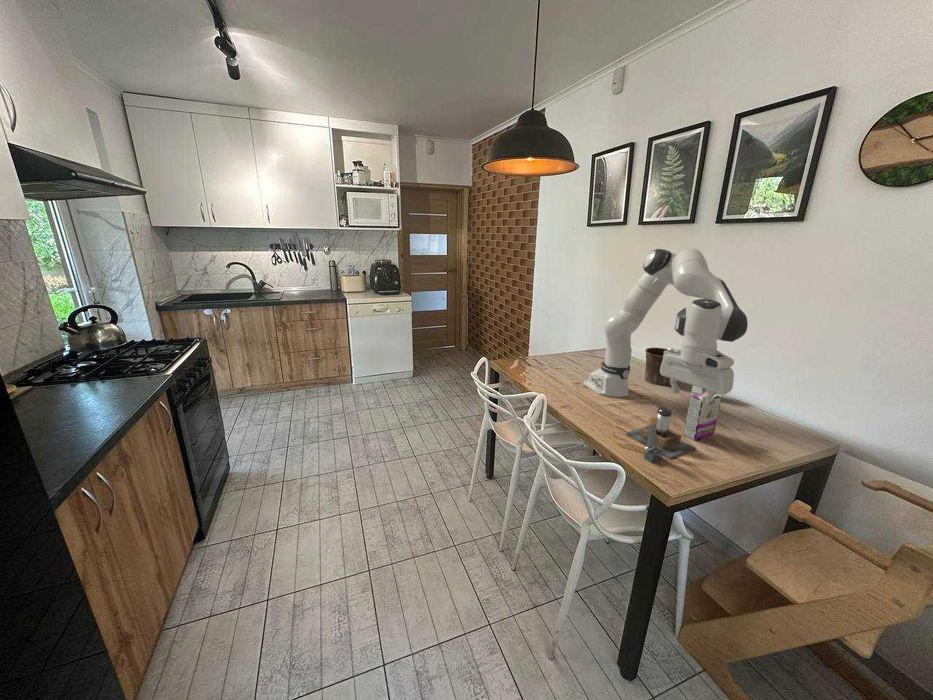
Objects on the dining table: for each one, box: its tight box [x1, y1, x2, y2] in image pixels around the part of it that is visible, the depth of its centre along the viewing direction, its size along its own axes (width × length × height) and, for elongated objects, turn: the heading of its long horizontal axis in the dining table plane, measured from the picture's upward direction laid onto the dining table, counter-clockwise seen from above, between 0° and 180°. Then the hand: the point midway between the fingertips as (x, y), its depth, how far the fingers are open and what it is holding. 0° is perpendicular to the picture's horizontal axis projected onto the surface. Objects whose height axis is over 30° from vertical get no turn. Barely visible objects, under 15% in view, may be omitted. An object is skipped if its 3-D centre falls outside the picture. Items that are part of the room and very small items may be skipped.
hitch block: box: [625, 425, 697, 460], centre depth 133 cm, size 18×14×4 cm
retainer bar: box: [646, 416, 658, 447], centre depth 122 cm, size 1×3×10 cm, turn 116°
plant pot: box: [644, 347, 671, 386], centre depth 190 cm, size 16×16×16 cm
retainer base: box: [642, 445, 663, 464], centre depth 123 cm, size 4×5×4 cm
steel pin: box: [656, 406, 673, 438], centre depth 132 cm, size 4×4×12 cm
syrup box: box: [690, 385, 708, 396], centre depth 173 cm, size 6×6×14 cm
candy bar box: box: [682, 392, 723, 441], centre depth 137 cm, size 11×5×16 cm, turn 114°
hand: (690, 397), depth 112 cm, fingers open, 8 cm apart
